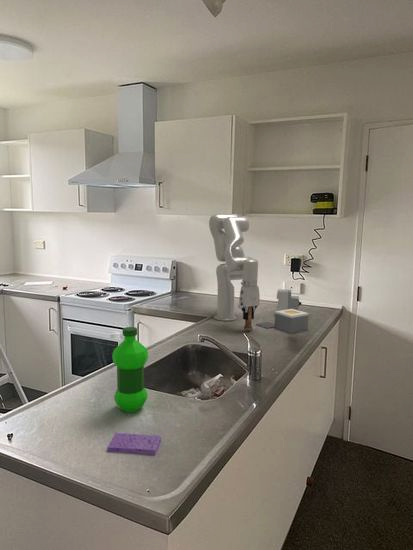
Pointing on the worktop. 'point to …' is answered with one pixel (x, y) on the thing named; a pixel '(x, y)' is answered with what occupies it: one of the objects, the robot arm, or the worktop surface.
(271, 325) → the rubber mat
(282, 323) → the square socket block
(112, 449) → the sponges
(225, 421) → the worktop surface
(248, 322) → the wooden pepper mill
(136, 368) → the plastic bottle
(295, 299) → the circuit breaker
